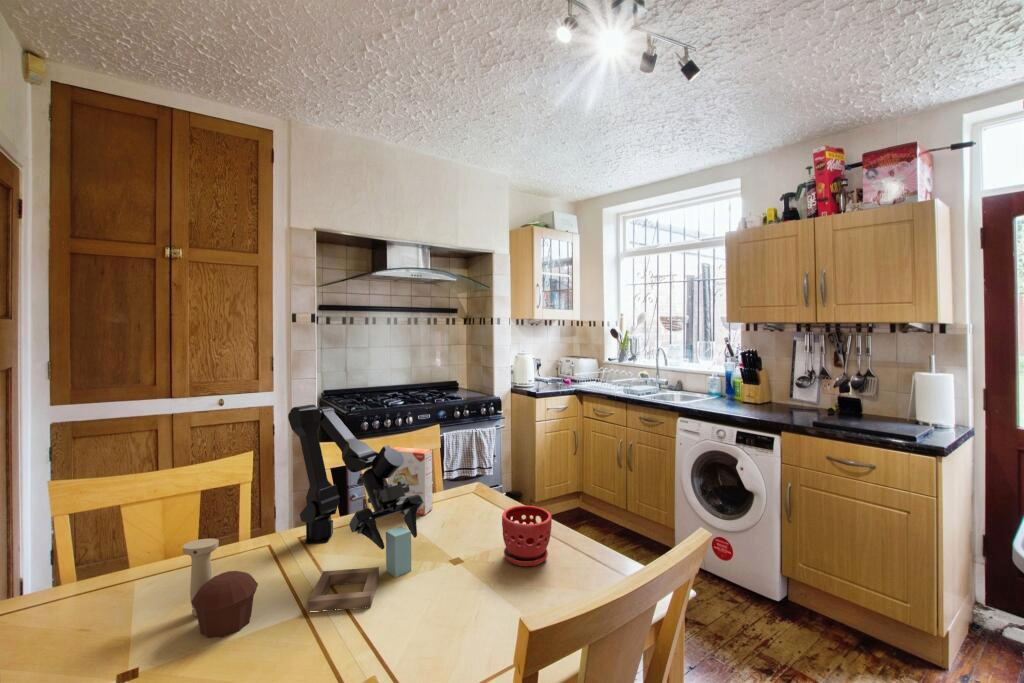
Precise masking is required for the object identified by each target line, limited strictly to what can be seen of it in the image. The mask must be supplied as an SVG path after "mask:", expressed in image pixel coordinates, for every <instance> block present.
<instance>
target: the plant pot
mask: <svg viewBox="0 0 1024 683" xmlns="http://www.w3.org/2000/svg"><path fill="white" fill-rule="evenodd" d="M522 516H525V518H522ZM531 517H532V518H531ZM537 517H539V518H540V520H541V521H540V522H539V523H538V522H537V520H536V519H537ZM511 518H512V519H511ZM552 520H553V519H552V514H551V513H550V512H549V511H548V510H547V509H544V508H542V507H539V506H535V505H534V506H533V505H517V506H512V507H508V509H506V510H504V511H503V512H502V516H501V526H502V538H503V542H504V545H505V547H504V550H503V555H504V557H505V558H506V560H507V561H508V562H509V563H511V564H513V565H515V566H520V567H521V566H522V567H531V566H538V565H540V564H542V563H543V562H545V561H546V559H547V558H548V554H549V553H548V549H547V548H548V547H549V546H548V545H549V543H550V538H551V534H552V523H553V522H552ZM516 521H517V522H516Z"/></svg>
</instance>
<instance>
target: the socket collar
mask: <svg viewBox="0 0 1024 683" xmlns="http://www.w3.org/2000/svg"><path fill="white" fill-rule="evenodd" d="M379 578H380V567H379V566H375V567H362V568H361V567H360V568H349V569H337V570H336V569H335V570H324V571H322V573H321V575H320V577H319V579H318V581H317V583H316V585H315V587H314V589H313V590H312V592H311V594H310V596H309V598H308V600H307V613H308V612H310V611H323V610H335V609H336V610H337V609H349V610H354V609H353V608H360V609H369V607H372V605H373V600H374V597H375V593H376V590H377V586H378V582H379ZM359 582H364V583H365V584H364V587H363V590H362V591H359V592H358V591H357V592H347V593H335V594H333V593H332V594H327V593H328V591H327V590H329V589H330V587H331V586H334V585H333V584H340V585H346V584H345V583H352V584H360V583H359ZM329 586H330V587H329ZM328 588H329V589H328ZM326 592H327V593H326ZM365 607H366V608H365ZM367 607H368V608H367Z"/></svg>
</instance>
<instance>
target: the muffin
mask: <svg viewBox="0 0 1024 683" xmlns="http://www.w3.org/2000/svg"><path fill="white" fill-rule="evenodd" d="M258 586H259V582H257V581H256V580H255V578H254V577H253V576H252V575H251V574H250V573H248V572H246V571H241V570H229V571H226V572H222V573H219V574H217V575H215V576H212V579H210V580H209V581H207V582H206V583H205V584H203V585H202V586H201V588H200V589H199V590H198V592H197V593H196V595H195V596H194V598H193V600H192V601H191V600H190V604H191V603H192V605H193V606H194V608H195V609H196V614H197V617H196V618H197V622H198V627H199V631H200V635H203V636H205V637H206V639H213V638H225V637H227V636H229V635H232V634H235V633H238V632H240V631H241V630H242V629H243V628H244V627H246V626H247V625H249V624H250V623H251V616H252V611H253V604H254V597H255V593H256V592H257V588H258ZM192 605H191V606H192Z"/></svg>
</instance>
